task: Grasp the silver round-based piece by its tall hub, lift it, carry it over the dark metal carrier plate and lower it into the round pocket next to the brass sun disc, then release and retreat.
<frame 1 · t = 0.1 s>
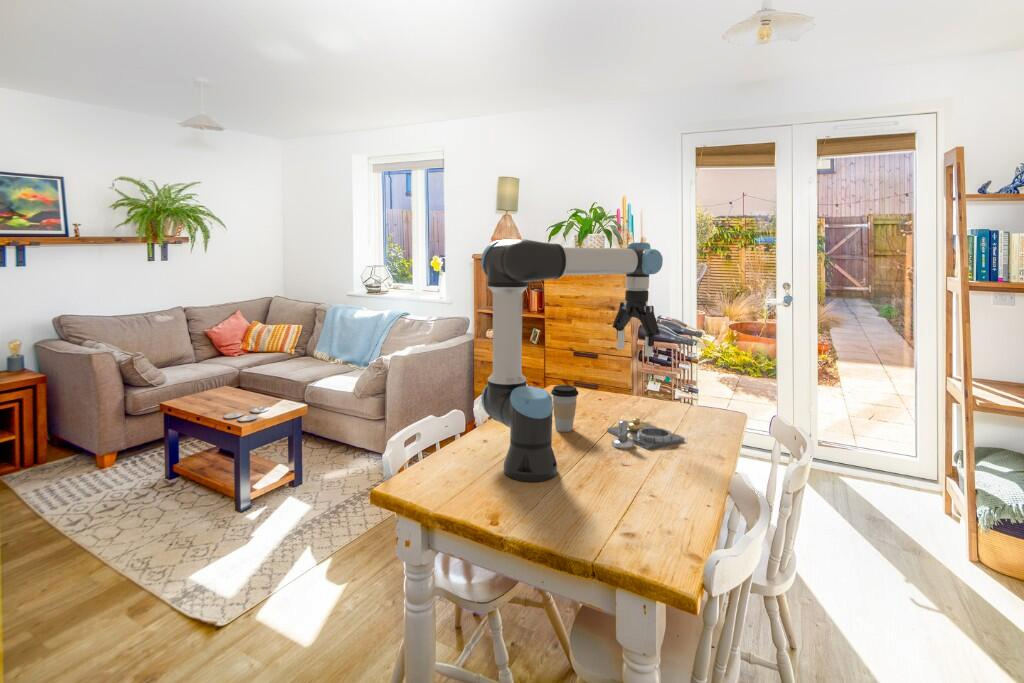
hand: (634, 352, 191), 28 cm above the table, fingers open, 13 cm apart
coffee cup: (563, 430, 198), on the table
silver round-based piece: (622, 445, 183), on the table
carrier: (644, 436, 191), on the table
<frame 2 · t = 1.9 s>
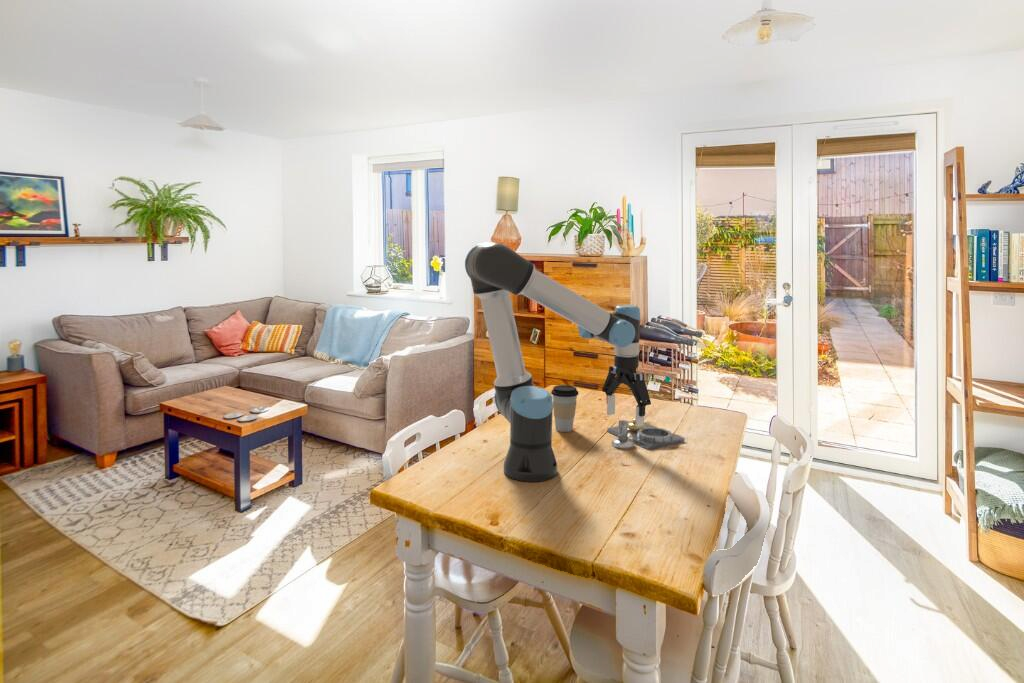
hand: (624, 419, 181), 8 cm above the table, fingers open, 13 cm apart
nothing on the table moved.
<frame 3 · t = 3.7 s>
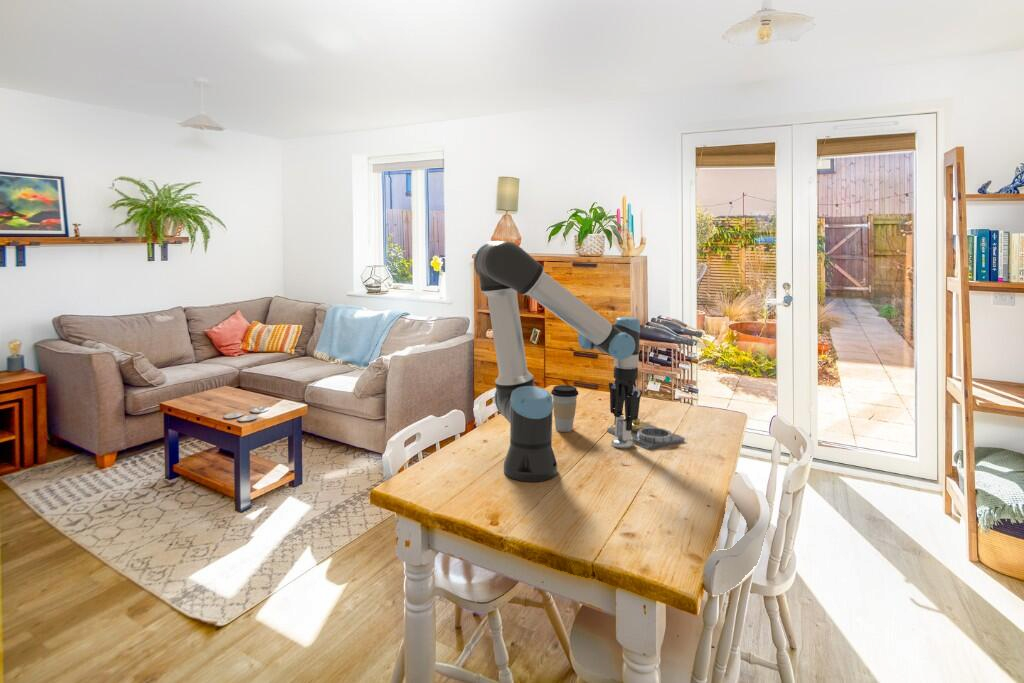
hand: (622, 437, 182), 3 cm above the table, fingers closed on silver round-based piece, 3 cm apart
silver round-based piece: (622, 445, 182), on the table, touching gripper
everything else where it was.
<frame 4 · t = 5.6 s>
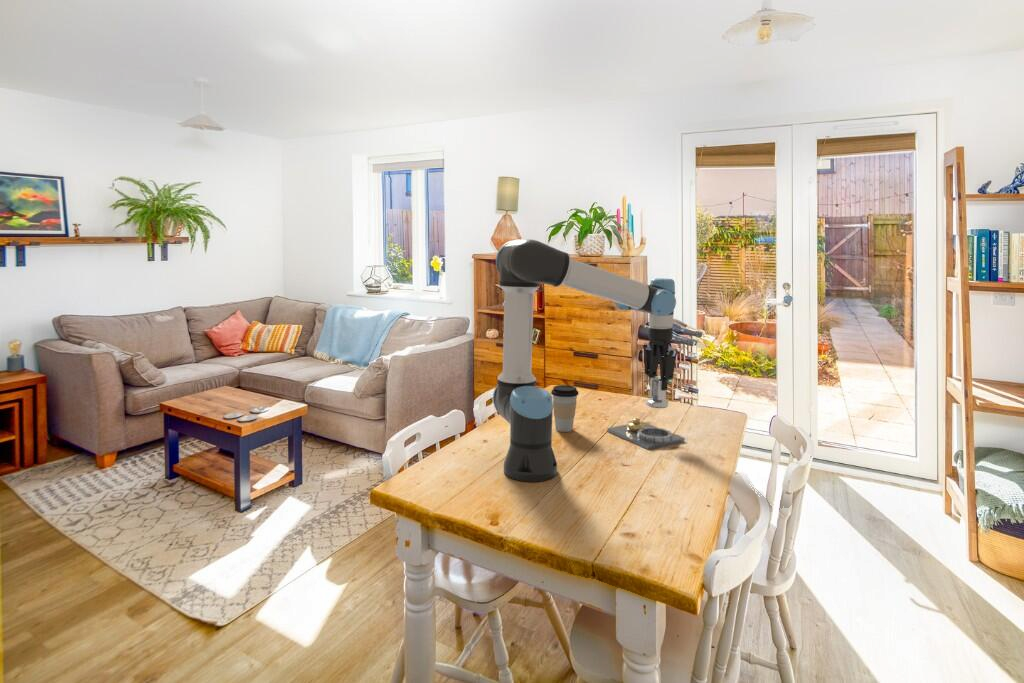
hand: (657, 398, 185), 14 cm above the table, fingers closed on silver round-based piece, 3 cm apart
silver round-based piece: (657, 405, 186), point 12 cm above the table, touching gripper
everything else where it was.
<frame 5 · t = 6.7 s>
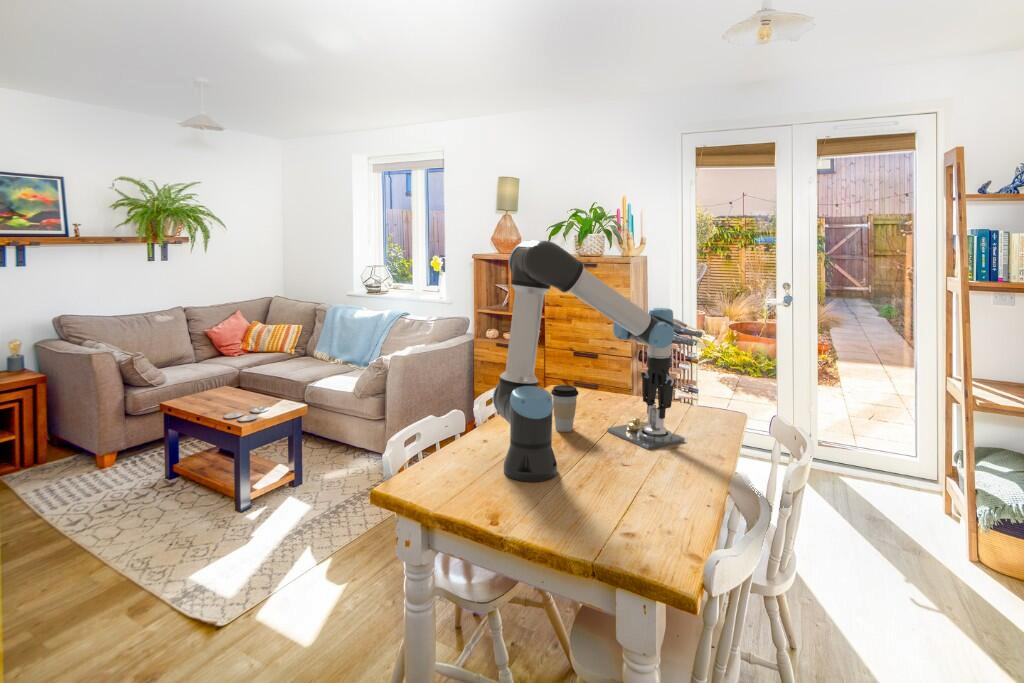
hand: (655, 425, 187), 5 cm above the table, fingers closed on silver round-based piece, 3 cm apart
silver round-based piece: (655, 432, 187), point 3 cm above the table, touching gripper
everything else where it was.
when the fingers open (5 cm above the table, at t = 7.5 s): silver round-based piece drops 1 cm, resting on carrier.
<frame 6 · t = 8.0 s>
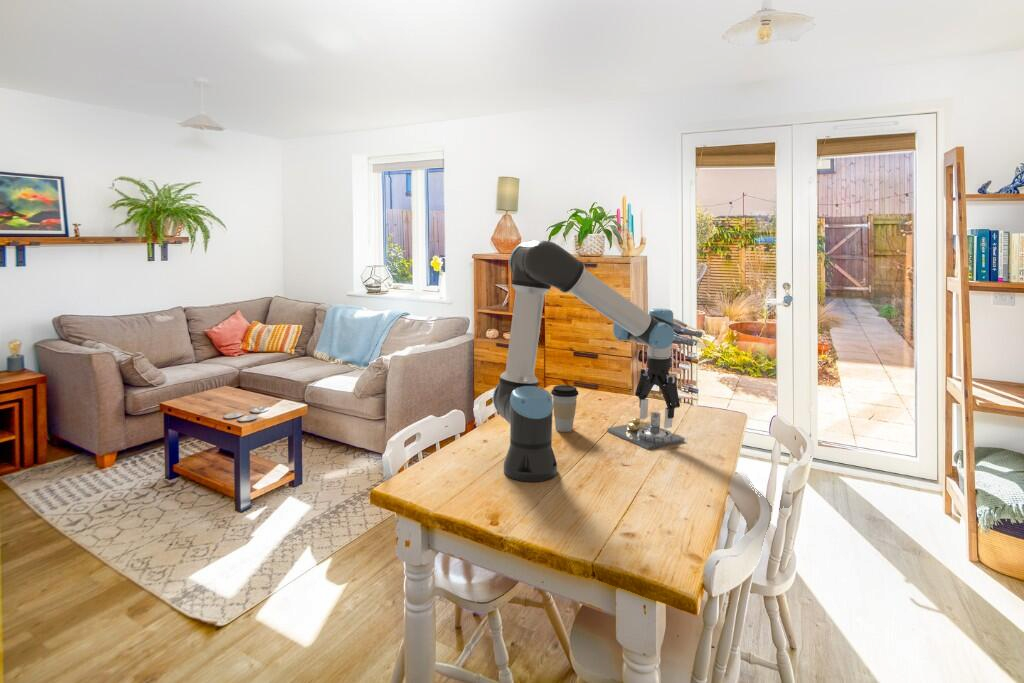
hand: (655, 422, 186), 6 cm above the table, fingers open, 10 cm apart
silver round-based piece: (654, 436, 187), point 1 cm above the table, touching carrier
everything else where it was.
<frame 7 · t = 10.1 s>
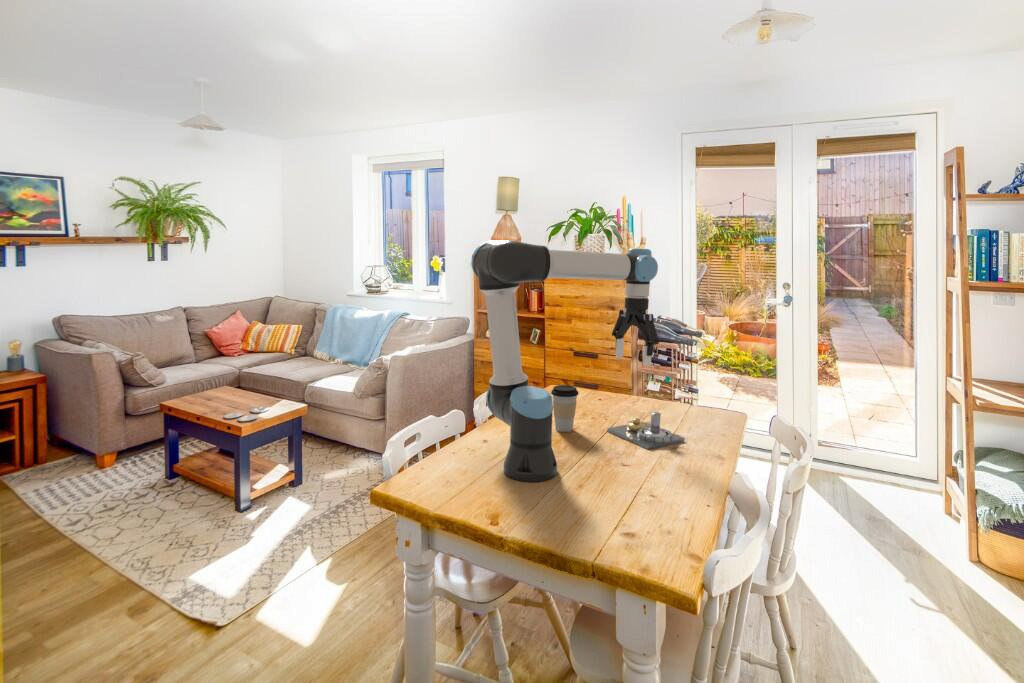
hand: (632, 361, 186), 26 cm above the table, fingers open, 13 cm apart
nothing on the table moved.
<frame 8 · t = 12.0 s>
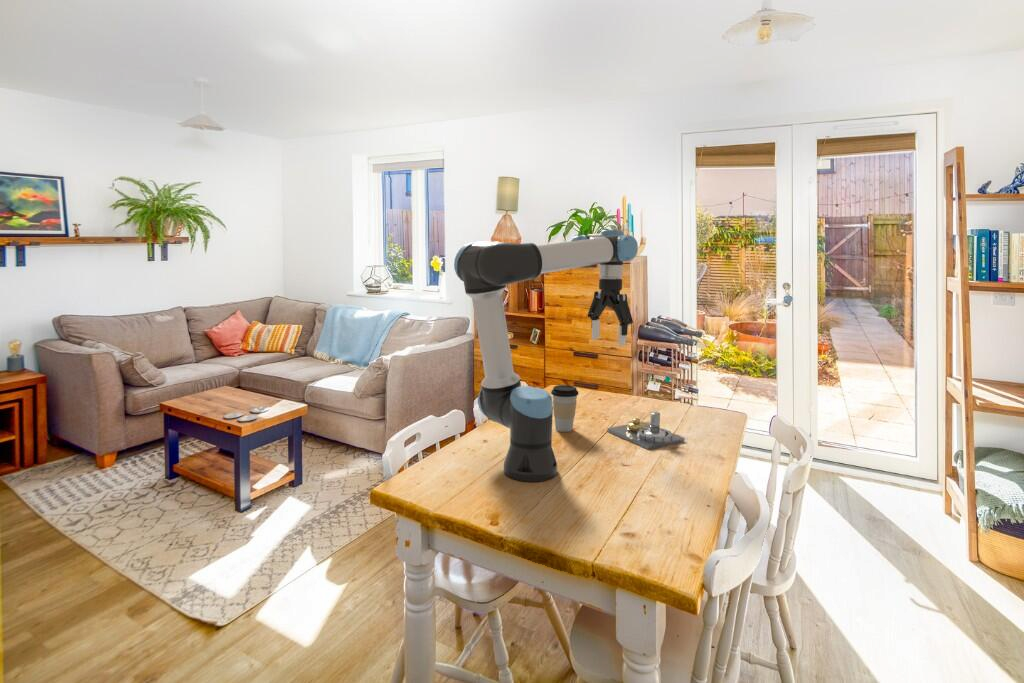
hand: (608, 342, 189), 32 cm above the table, fingers open, 13 cm apart
nothing on the table moved.
at the end: silver round-based piece 0.0 cm from the target spot on the carrier, point 1.2 cm above the carrier's base; silver round-based piece tilted 1°; the gripper is holding nothing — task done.
